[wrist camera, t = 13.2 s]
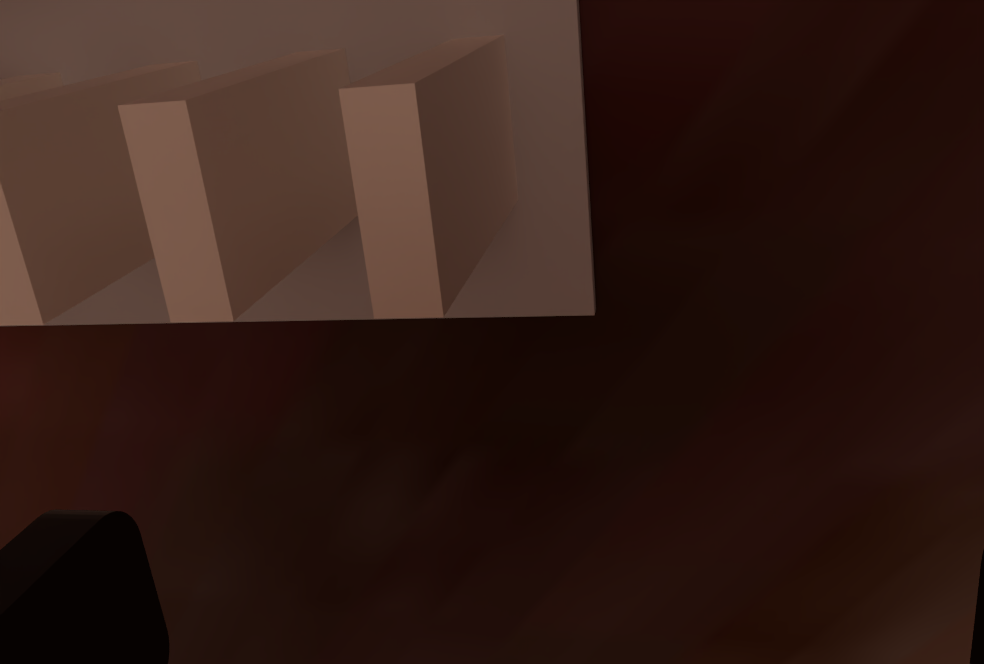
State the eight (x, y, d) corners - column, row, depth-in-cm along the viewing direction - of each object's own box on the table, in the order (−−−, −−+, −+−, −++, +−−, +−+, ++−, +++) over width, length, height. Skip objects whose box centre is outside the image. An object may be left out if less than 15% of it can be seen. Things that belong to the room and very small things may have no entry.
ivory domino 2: (368, 206, 30) (233, 321, 21) (322, 208, 30) (170, 322, 21) (345, 48, 28) (185, 100, 19) (296, 52, 29) (117, 105, 20)
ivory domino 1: (228, 212, 31) (43, 324, 22) (186, 214, 31) (-14, 325, 22) (197, 60, 29) (-20, 115, 20) (152, 64, 30) (-81, 120, 21)
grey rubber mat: (596, 308, 31) (594, 314, 30) (-230, 324, 38) (-243, 330, 37) (571, -123, 26) (569, -124, 25) (-372, -10, 33) (-390, -9, 32)
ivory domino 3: (518, 199, 29) (443, 317, 20) (469, 201, 29) (374, 318, 20) (504, 34, 27) (414, 83, 18) (451, 38, 27) (338, 88, 18)
